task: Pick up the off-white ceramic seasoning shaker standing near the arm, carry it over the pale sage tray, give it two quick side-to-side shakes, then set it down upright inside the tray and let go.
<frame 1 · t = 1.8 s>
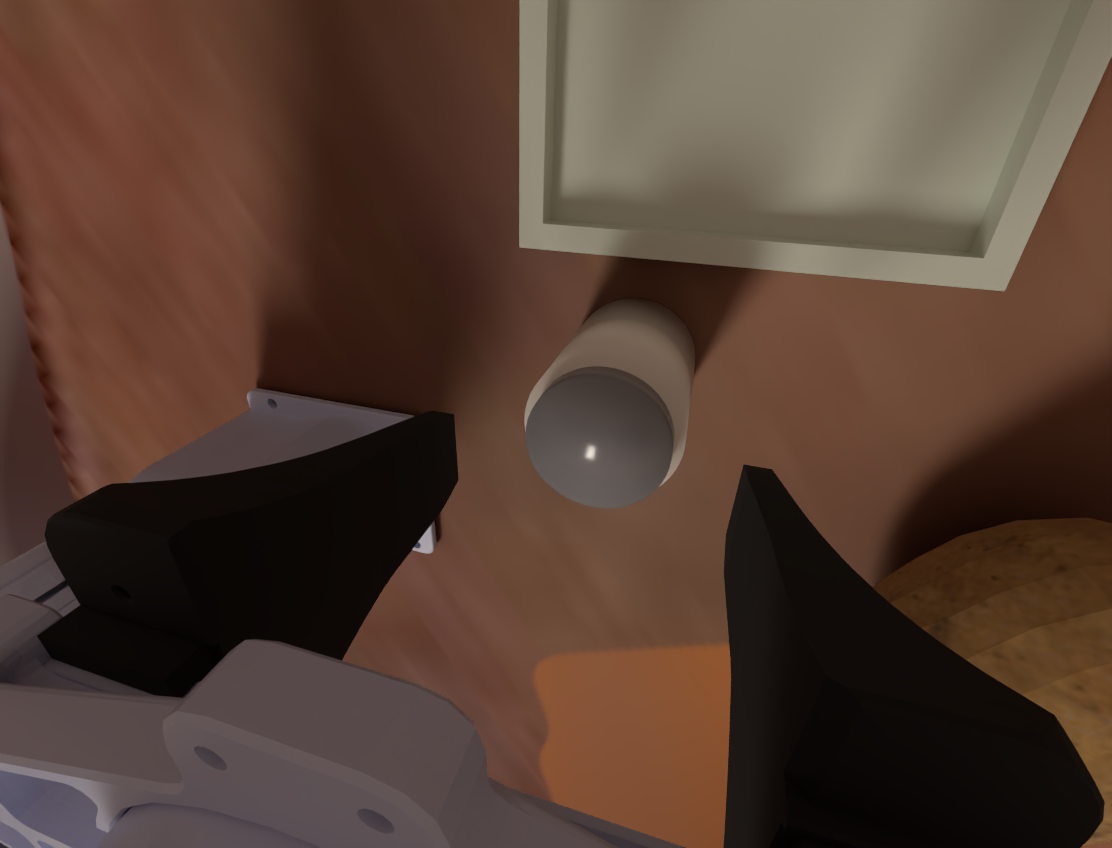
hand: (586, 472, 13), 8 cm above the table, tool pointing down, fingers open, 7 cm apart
tray: (772, 75, 15), on the table
potato: (961, 592, 21), on the table
shaker: (632, 358, 20), on the table
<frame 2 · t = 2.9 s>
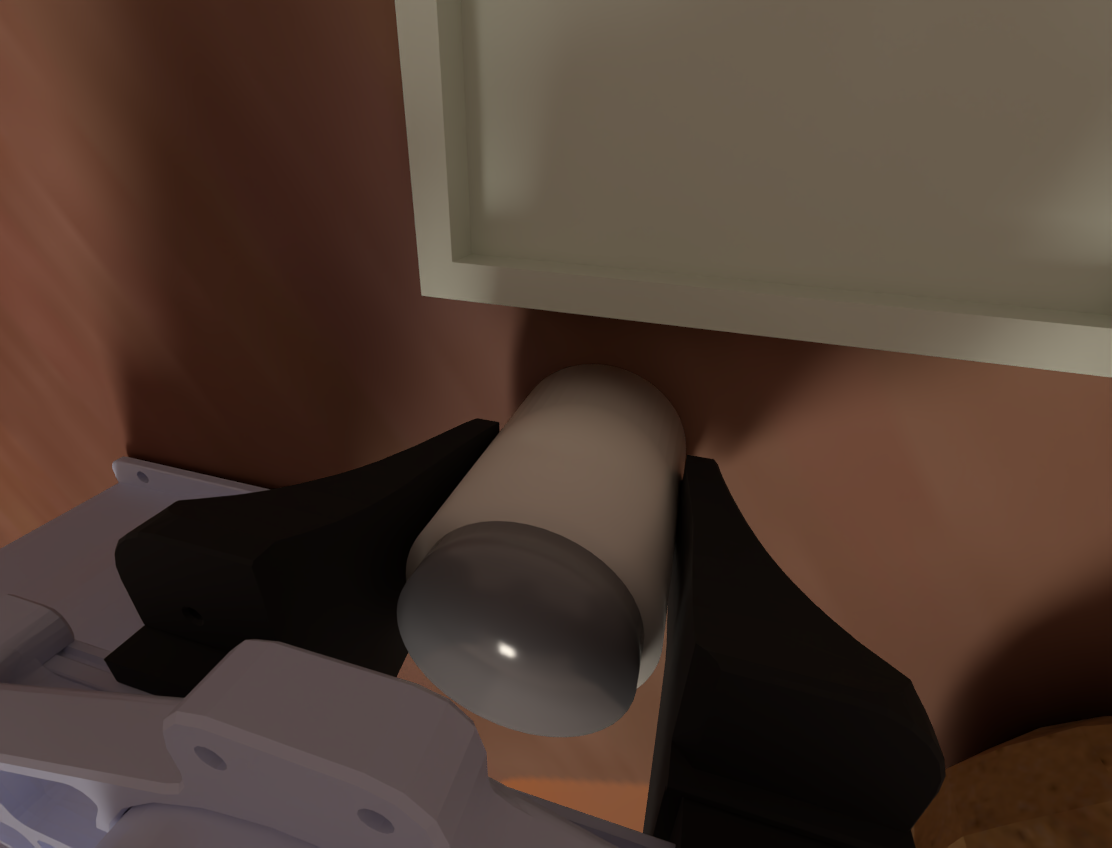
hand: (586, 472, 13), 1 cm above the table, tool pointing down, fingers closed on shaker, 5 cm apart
tray: (808, 27, 9), on the table
potato: (1055, 762, 15), on the table
shaker: (598, 444, 14), on the table, touching gripper
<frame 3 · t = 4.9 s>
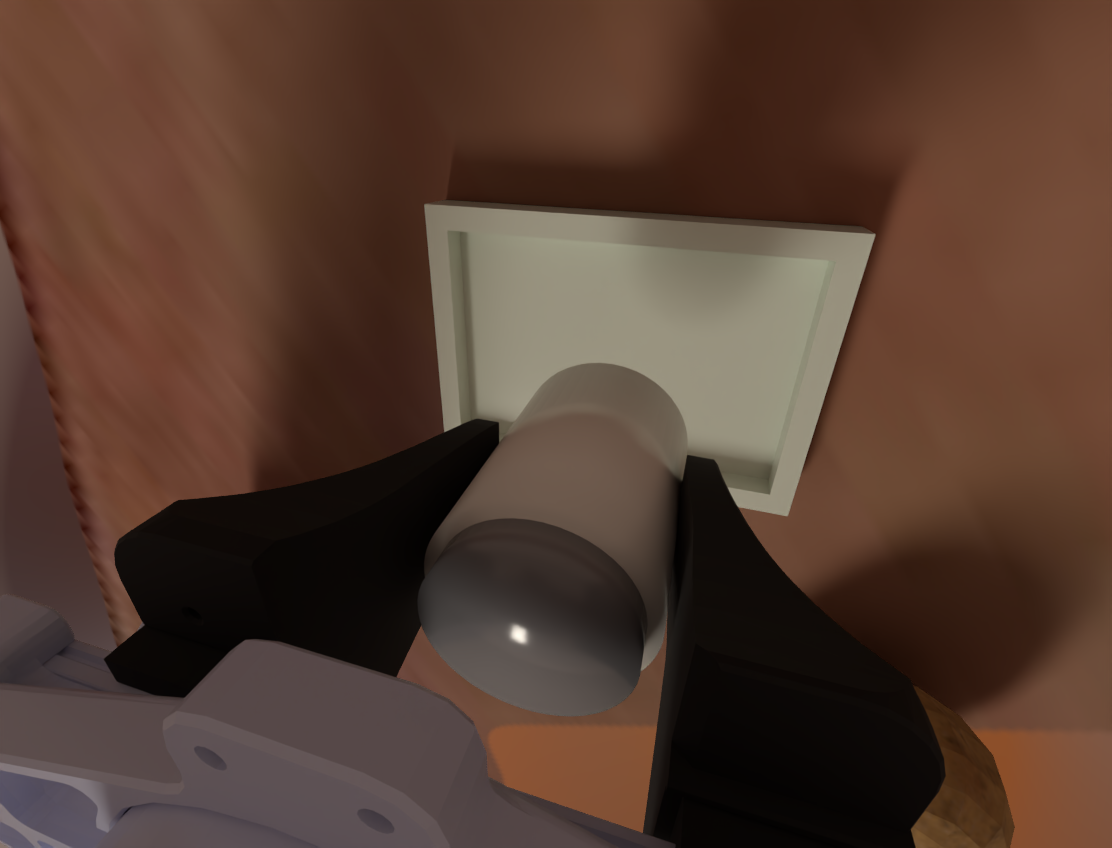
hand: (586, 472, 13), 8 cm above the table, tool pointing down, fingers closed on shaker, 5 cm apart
tray: (621, 351, 20), on the table
potato: (809, 699, 26), on the table
shaker: (603, 439, 14), point 6 cm above the table, touching gripper
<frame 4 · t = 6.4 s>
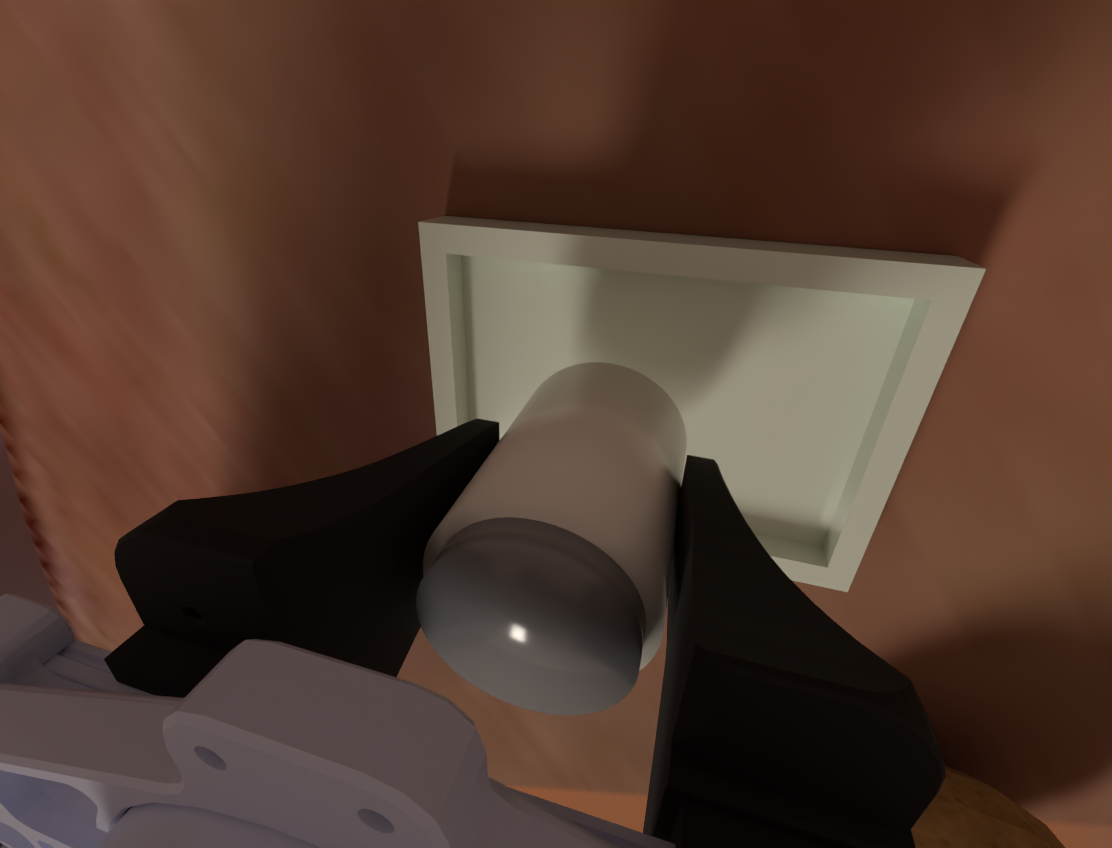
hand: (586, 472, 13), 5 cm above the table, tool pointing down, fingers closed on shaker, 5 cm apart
tray: (650, 395, 17), on the table
potato: (853, 778, 23), on the table
shaker: (602, 438, 14), point 3 cm above the table, touching gripper
when the fingers open (3 cm above the table, at t = 7.2 s): shaker stays where it is, resting on tray.
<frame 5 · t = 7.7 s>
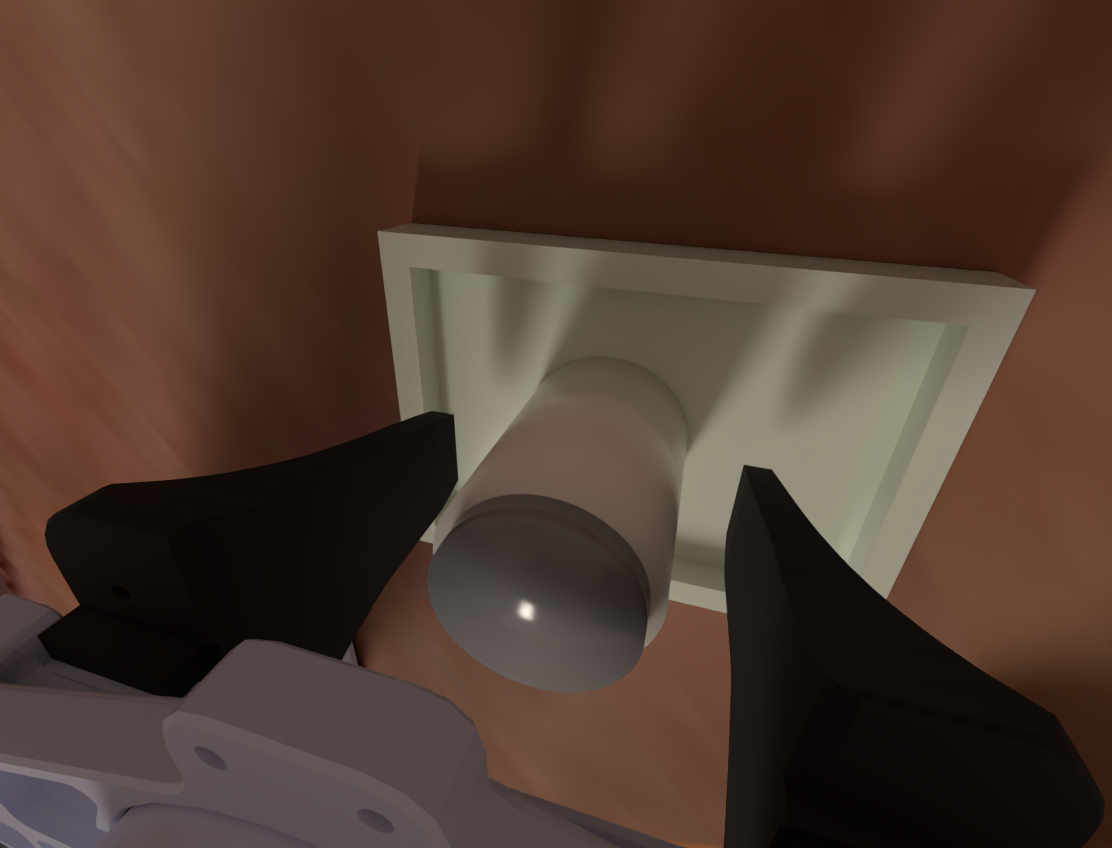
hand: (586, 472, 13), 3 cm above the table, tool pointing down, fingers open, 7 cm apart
tray: (643, 423, 15), on the table
shaker: (605, 432, 15), point 1 cm above the table, touching tray
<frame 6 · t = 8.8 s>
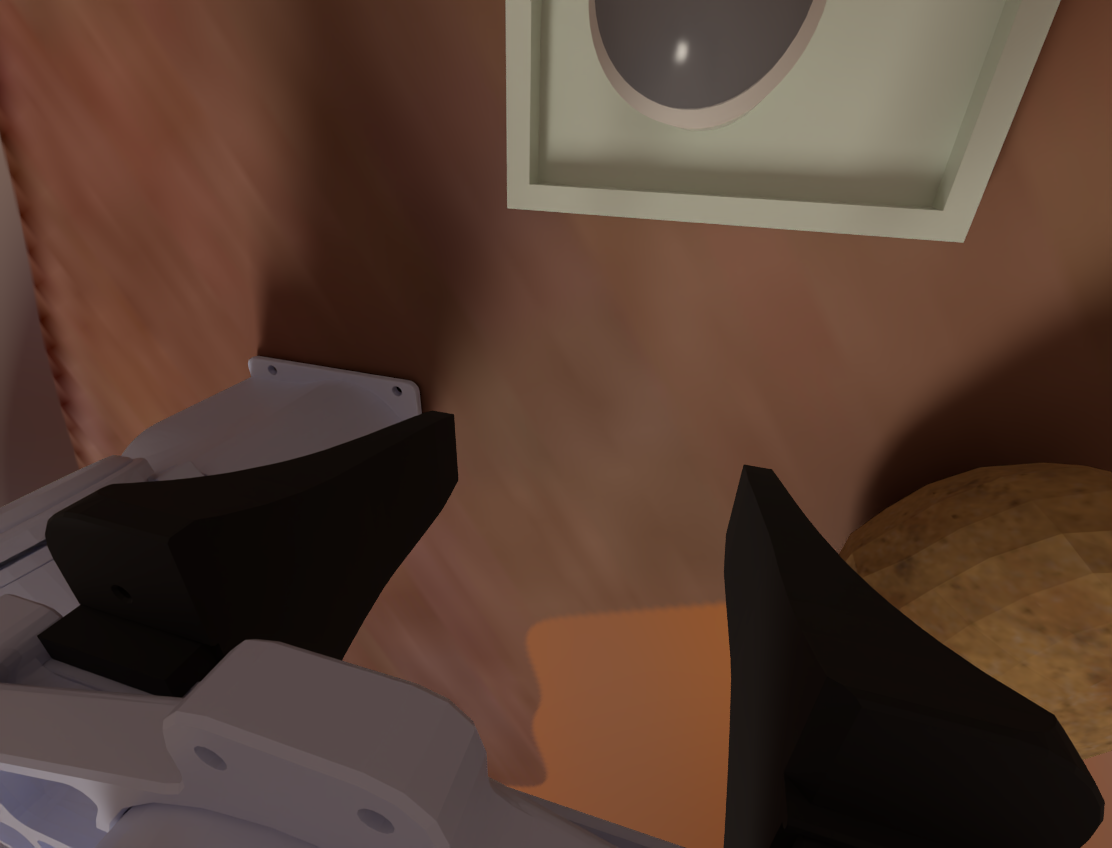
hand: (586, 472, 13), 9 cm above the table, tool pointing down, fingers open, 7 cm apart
tray: (745, 38, 15), on the table
potato: (934, 546, 21), on the table
shaker: (709, 41, 15), point 1 cm above the table, touching tray
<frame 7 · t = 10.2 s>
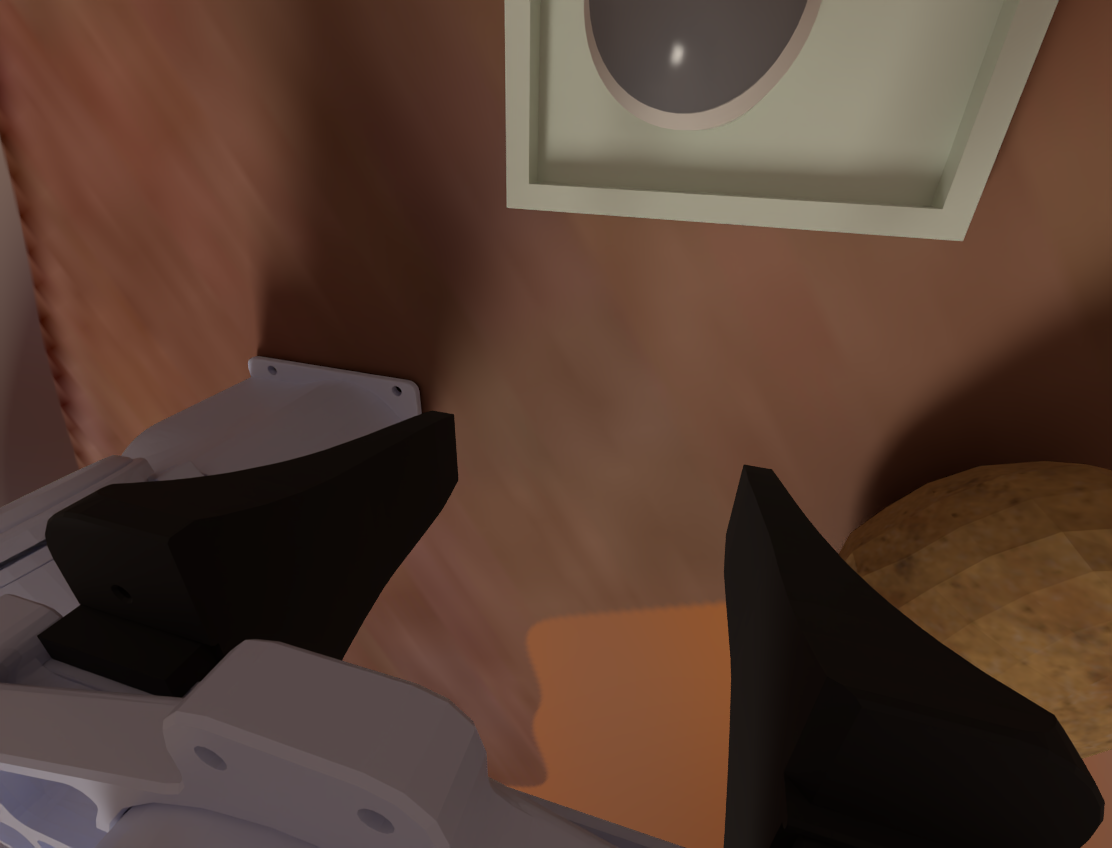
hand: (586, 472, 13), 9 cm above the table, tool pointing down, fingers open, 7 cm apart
tray: (744, 37, 15), on the table
potato: (934, 545, 21), on the table
shaker: (708, 40, 15), point 1 cm above the table, touching tray
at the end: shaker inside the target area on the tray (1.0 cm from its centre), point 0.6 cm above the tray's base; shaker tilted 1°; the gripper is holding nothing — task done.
